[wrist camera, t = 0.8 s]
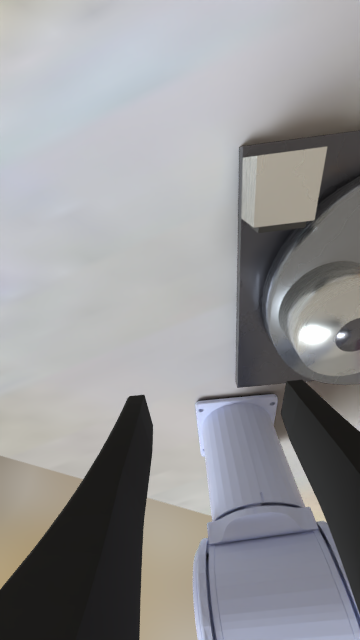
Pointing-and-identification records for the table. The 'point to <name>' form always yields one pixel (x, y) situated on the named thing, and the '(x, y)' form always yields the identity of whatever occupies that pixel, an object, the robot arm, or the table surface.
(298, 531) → the robot arm
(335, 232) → the turntable
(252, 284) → the base plate
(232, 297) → the table surface
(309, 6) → the table surface
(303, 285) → the cover
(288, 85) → the table surface
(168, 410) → the table surface
